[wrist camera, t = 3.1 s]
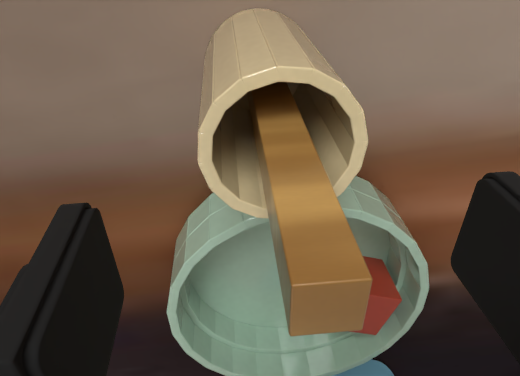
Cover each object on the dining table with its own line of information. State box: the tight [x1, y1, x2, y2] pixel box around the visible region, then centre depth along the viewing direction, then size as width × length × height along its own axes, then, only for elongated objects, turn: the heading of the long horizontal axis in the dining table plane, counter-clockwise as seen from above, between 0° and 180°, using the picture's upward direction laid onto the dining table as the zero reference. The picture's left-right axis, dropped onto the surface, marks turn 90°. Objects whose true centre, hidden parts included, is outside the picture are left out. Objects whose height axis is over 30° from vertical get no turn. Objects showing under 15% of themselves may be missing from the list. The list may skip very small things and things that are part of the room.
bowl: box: [167, 176, 429, 376], centre depth 28 cm, size 17×17×5 cm
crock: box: [198, 8, 368, 218], centre depth 17 cm, size 6×6×10 cm
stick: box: [247, 82, 373, 336], centre depth 14 cm, size 2×2×16 cm
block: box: [348, 256, 402, 335], centre depth 29 cm, size 4×4×4 cm
